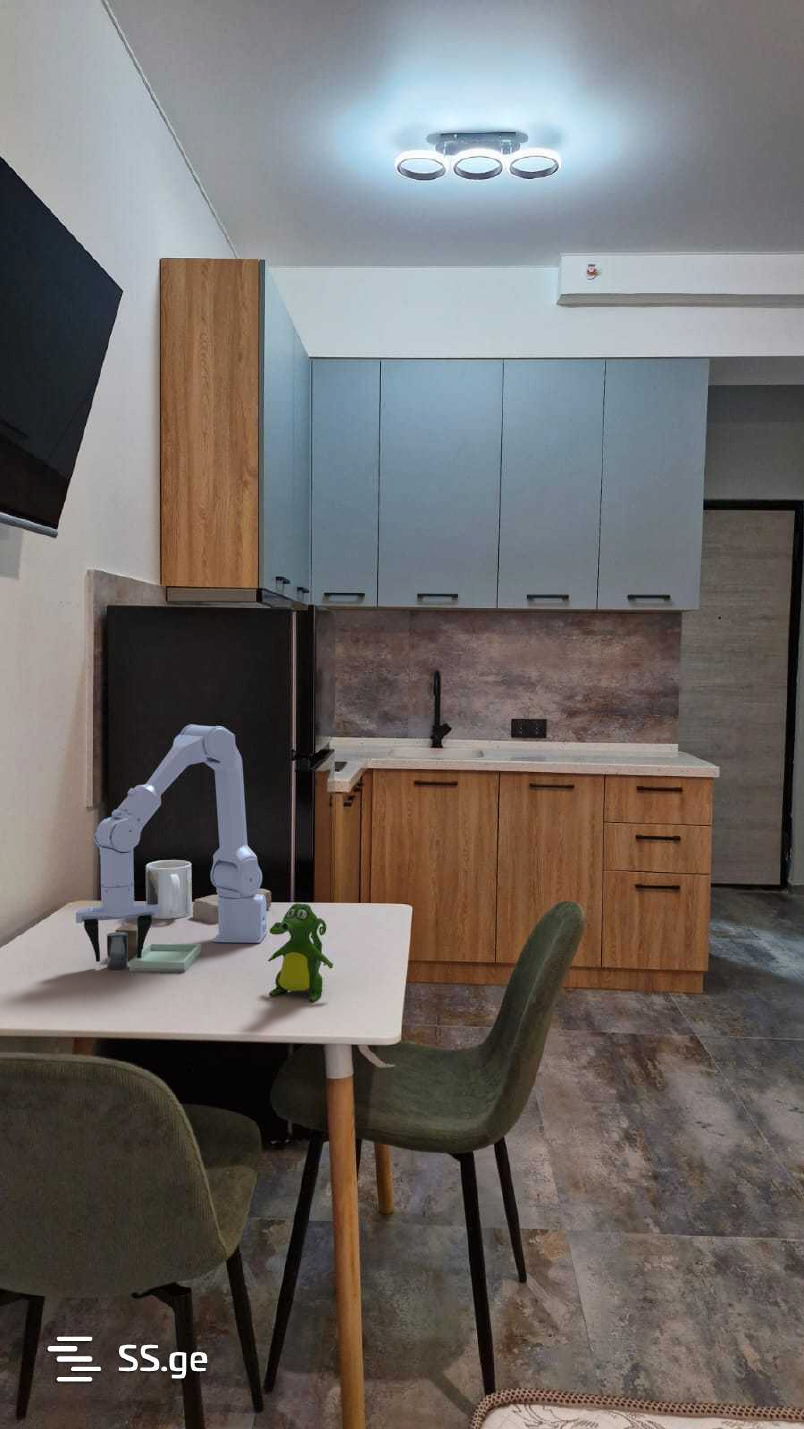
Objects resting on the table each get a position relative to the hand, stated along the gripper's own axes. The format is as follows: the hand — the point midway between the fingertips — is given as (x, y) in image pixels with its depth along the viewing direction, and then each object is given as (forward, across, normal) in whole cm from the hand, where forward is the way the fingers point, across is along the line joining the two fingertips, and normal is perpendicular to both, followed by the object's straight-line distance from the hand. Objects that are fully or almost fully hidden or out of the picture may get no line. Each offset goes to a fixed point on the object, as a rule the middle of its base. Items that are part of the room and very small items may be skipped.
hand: (118, 958), depth 183 cm
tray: (+2, -8, -1) cm, 9 cm away
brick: (+2, -25, -34) cm, 42 cm away
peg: (+2, 0, 0) cm, 2 cm away
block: (+2, -2, -7) cm, 7 cm away
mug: (+2, -11, -37) cm, 39 cm away
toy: (+2, -29, +24) cm, 38 cm away
